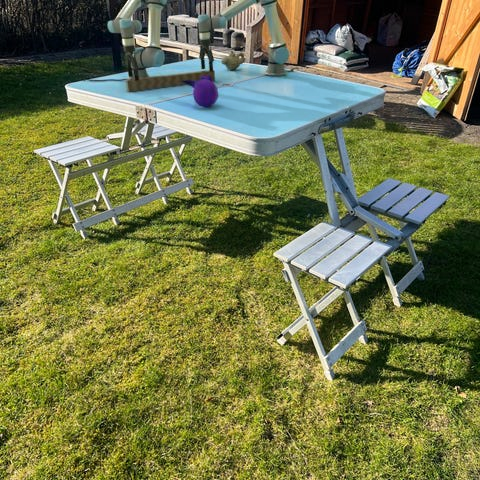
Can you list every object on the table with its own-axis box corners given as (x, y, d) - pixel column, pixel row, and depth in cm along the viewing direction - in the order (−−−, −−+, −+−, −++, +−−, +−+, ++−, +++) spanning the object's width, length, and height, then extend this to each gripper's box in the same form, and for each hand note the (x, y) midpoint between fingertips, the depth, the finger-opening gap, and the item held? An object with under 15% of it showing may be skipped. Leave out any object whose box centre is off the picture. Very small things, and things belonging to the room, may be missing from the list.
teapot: (225, 72, 364) (224, 52, 356) (218, 70, 372) (217, 50, 365) (247, 69, 373) (247, 50, 365) (240, 67, 381) (240, 48, 374)
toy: (206, 98, 286) (218, 113, 265) (179, 93, 279) (189, 108, 258) (211, 72, 278) (224, 86, 257) (184, 67, 271) (195, 81, 250)
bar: (128, 92, 307) (127, 80, 303) (126, 90, 310) (125, 79, 307) (215, 81, 334) (214, 70, 330) (212, 80, 338) (211, 69, 334)
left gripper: (140, 47, 288) (145, 81, 300) (128, 42, 307) (133, 74, 318) (129, 48, 285) (134, 82, 297) (117, 43, 304) (123, 75, 315)
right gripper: (217, 39, 311) (219, 72, 322) (202, 37, 330) (204, 67, 341) (207, 41, 308) (210, 73, 319) (192, 38, 327) (195, 68, 338)
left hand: (133, 78), depth 307 cm, fingers open, 13 cm apart
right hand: (207, 70), depth 330 cm, fingers open, 13 cm apart
